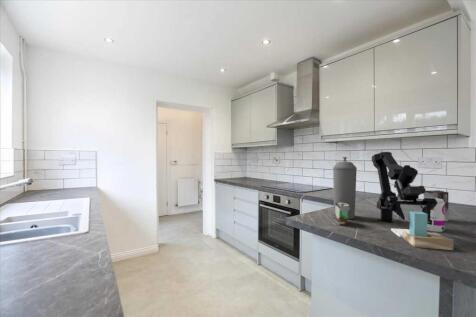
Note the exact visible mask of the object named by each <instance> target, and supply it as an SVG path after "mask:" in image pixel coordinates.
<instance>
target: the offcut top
mask: <svg viewBox="0 0 476 317" xmlns="http://www.w3.org/2000/svg"><path fill="white" fill-rule="evenodd" d="M436 233H437V232H428V231H427V236H429V237H433V238H443V237H444V236H443V237H441V236H442V235H441V234H439V233H437V234H436ZM438 234H439V235H438ZM440 235H441V236H440Z"/></svg>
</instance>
